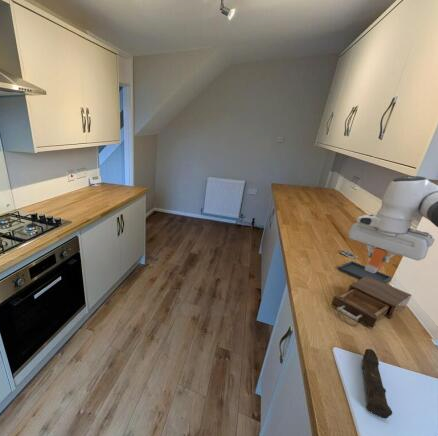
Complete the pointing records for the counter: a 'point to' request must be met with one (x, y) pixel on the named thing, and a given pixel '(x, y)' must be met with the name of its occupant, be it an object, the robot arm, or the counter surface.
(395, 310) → the cabinet
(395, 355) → the counter surface
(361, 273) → the tray
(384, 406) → the dark brown elongated piece
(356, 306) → the drawer
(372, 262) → the orange and white box
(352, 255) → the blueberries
